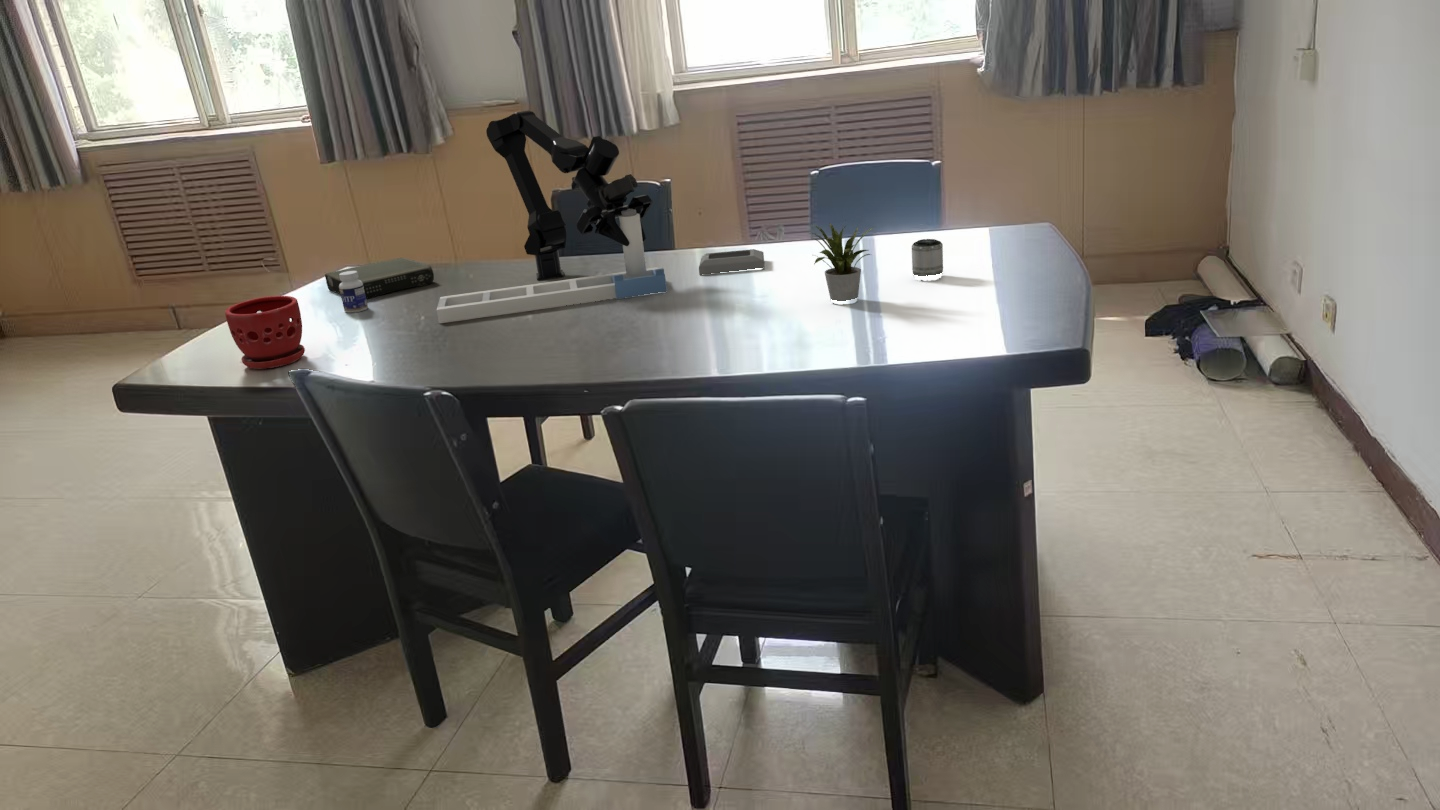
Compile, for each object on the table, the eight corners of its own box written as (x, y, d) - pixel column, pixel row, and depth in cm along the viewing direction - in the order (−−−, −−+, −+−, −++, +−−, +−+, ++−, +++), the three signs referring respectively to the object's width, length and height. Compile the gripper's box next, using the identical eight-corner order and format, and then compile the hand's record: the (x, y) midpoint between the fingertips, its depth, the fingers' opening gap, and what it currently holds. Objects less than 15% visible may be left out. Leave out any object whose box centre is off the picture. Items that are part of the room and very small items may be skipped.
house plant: (787, 306, 200) (781, 224, 194) (829, 289, 209) (824, 210, 203) (846, 314, 190) (841, 228, 185) (887, 296, 199) (884, 214, 194)
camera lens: (920, 273, 214) (919, 237, 211) (948, 275, 211) (947, 238, 208) (907, 280, 210) (906, 243, 207) (935, 282, 206) (934, 244, 203)
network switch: (402, 273, 271) (398, 255, 269) (447, 282, 255) (443, 262, 253) (318, 294, 256) (314, 275, 254) (360, 305, 240) (356, 284, 238)
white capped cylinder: (624, 276, 223) (616, 213, 218) (628, 271, 227) (620, 209, 222) (644, 275, 222) (636, 211, 217) (648, 270, 226) (640, 208, 222)
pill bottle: (339, 313, 232) (330, 275, 229) (355, 306, 237) (346, 269, 234) (358, 313, 230) (349, 275, 227) (373, 307, 235) (364, 269, 232)
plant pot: (225, 372, 195) (208, 312, 190) (275, 351, 206) (260, 294, 202) (277, 374, 190) (261, 313, 186) (325, 352, 201) (311, 294, 197)
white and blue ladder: (443, 309, 225) (438, 287, 224) (659, 279, 232) (656, 257, 231) (438, 324, 213) (434, 300, 212) (667, 292, 220) (664, 269, 218)
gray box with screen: (763, 255, 231) (697, 261, 232) (764, 271, 232) (699, 277, 233) (762, 247, 239) (700, 252, 240) (764, 262, 241) (701, 267, 242)
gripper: (577, 171, 213) (618, 226, 209) (642, 157, 225) (681, 209, 222) (559, 207, 221) (599, 260, 217) (623, 192, 233) (661, 242, 230)
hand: (636, 242), depth 221 cm, fingers closed on white capped cylinder, 4 cm apart
